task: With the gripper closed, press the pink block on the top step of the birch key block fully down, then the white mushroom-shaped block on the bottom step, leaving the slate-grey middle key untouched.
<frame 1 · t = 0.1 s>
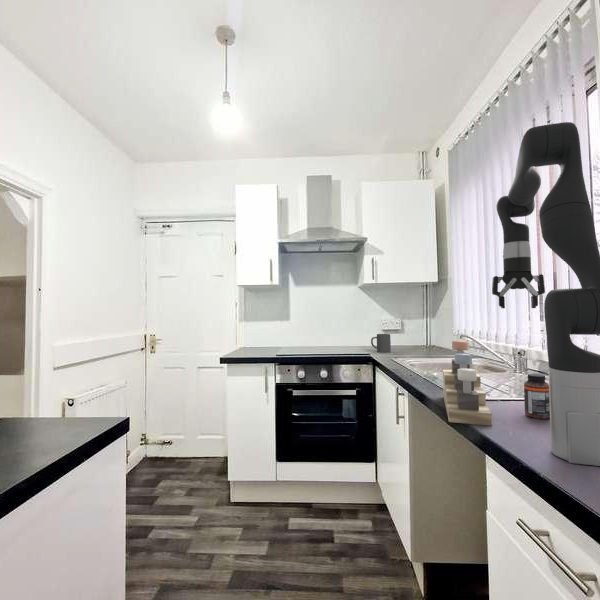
hand: (518, 308, 115), 29 cm above the worktop, fingers open, 8 cm apart
pink block: (460, 351, 115), point 16 cm above the worktop, slide at 0.0 cm
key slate: (463, 366, 106), point 13 cm above the worktop, slide at 0.0 cm
white mushroom-shaped block: (467, 382, 98), point 10 cm above the worktop, slide at 0.0 cm
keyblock: (464, 409, 106), on the worktop
supplement bottle: (537, 417, 99), on the worktop
mug: (380, 352, 247), on the worktop
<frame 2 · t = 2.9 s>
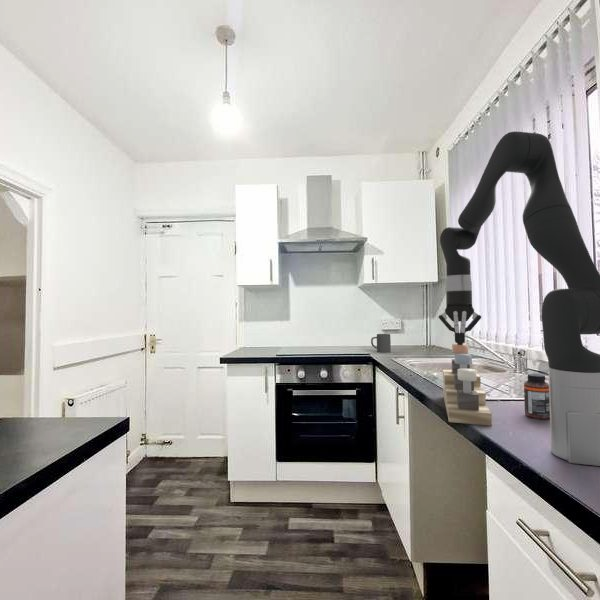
hand: (460, 344, 115), 18 cm above the worktop, fingers closed
pink block: (460, 355, 115), point 15 cm above the worktop, slide at 1.1 cm, touching gripper
everything else where it was.
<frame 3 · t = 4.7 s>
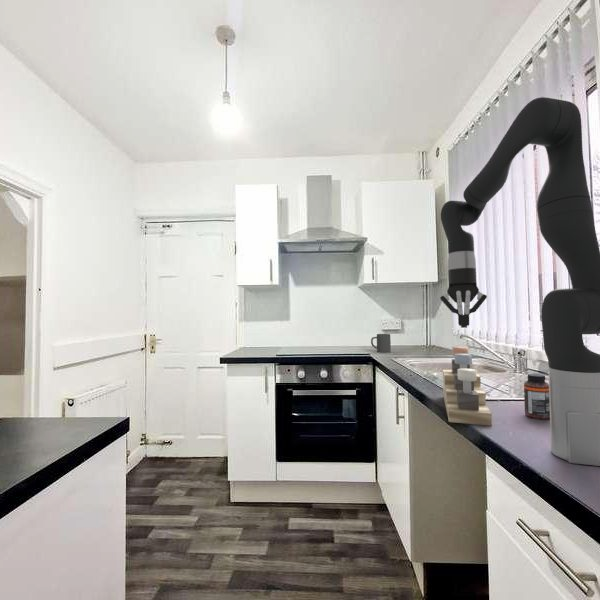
hand: (464, 327, 106), 24 cm above the worktop, fingers closed
pink block: (460, 358, 115), point 14 cm above the worktop, slide at 1.9 cm
everything else where it was.
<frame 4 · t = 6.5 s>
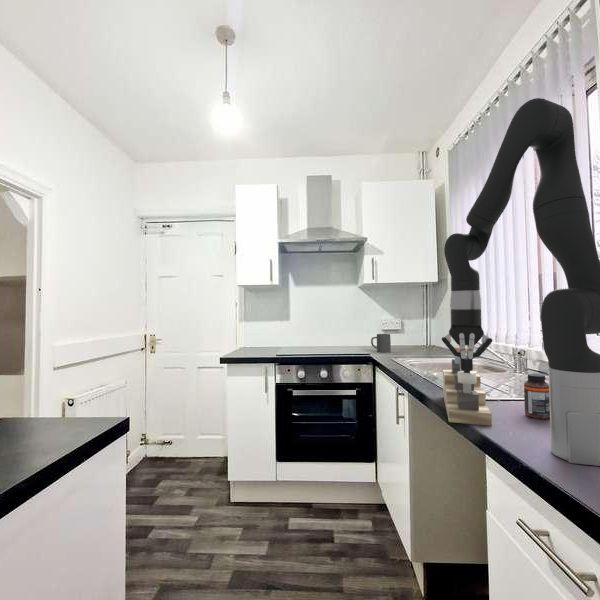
hand: (466, 372, 98), 12 cm above the worktop, fingers closed
white mushroom-shaped block: (467, 385, 97), point 9 cm above the worktop, slide at 0.7 cm, touching gripper
everything else where it was.
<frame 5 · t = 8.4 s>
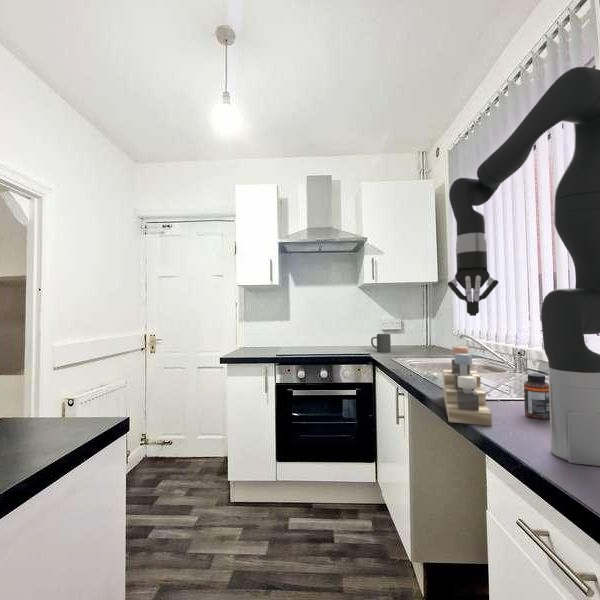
hand: (472, 315, 98), 28 cm above the worktop, fingers closed
white mushroom-shaped block: (467, 389, 97), point 8 cm above the worktop, slide at 2.0 cm
everything else where it was.
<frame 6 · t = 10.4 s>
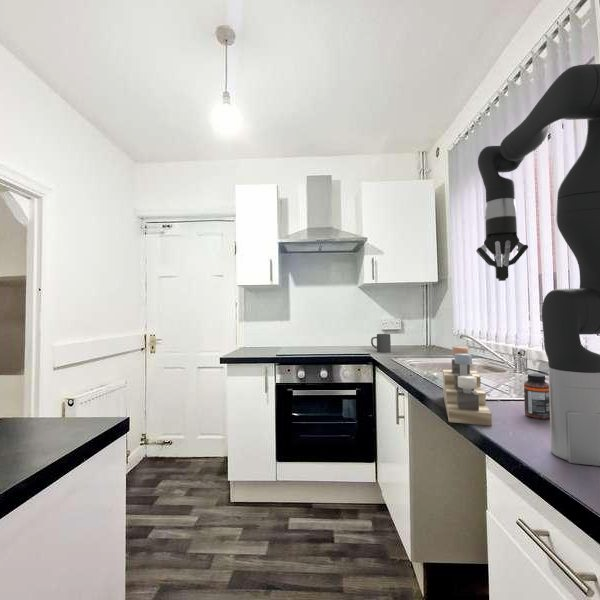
hand: (502, 280, 100), 37 cm above the worktop, fingers closed
nothing on the worktop moved.
at the end: pink block slide at 1.9 cm; white mushroom-shaped block slide at 2.0 cm; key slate slide at 0.0 cm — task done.
